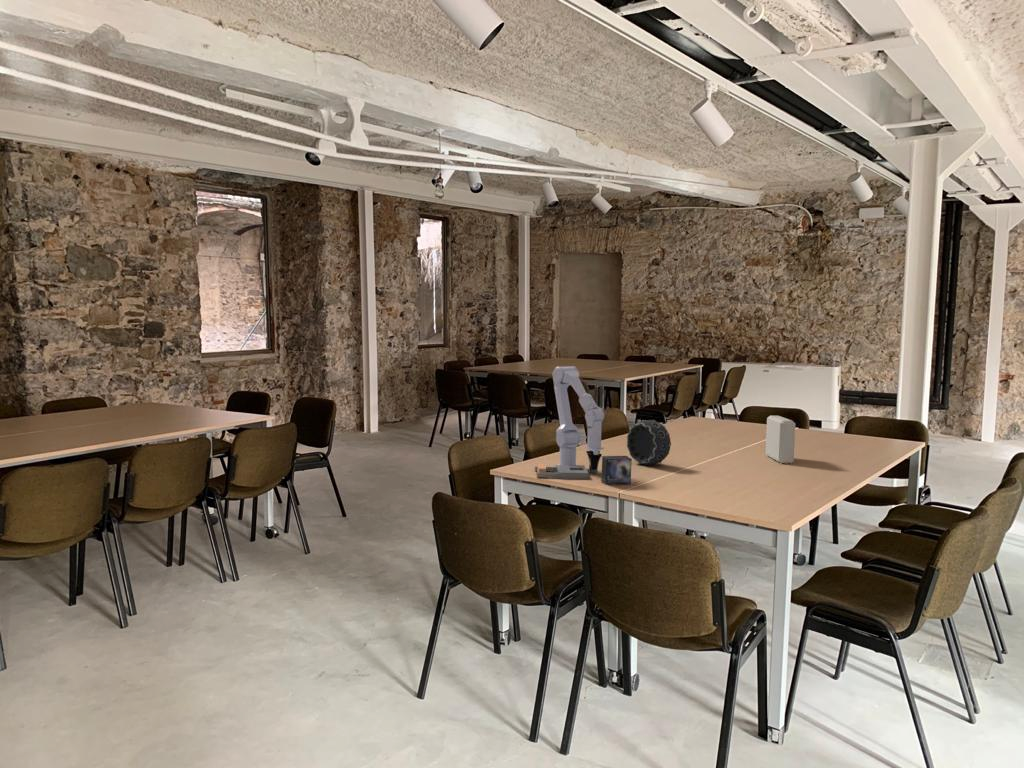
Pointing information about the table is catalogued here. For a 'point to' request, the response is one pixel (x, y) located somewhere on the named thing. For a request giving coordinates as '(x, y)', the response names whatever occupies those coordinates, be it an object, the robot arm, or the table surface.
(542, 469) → the latch bar
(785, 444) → the grey upright block
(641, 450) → the black toy wheel
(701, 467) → the table surface
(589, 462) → the axle peg
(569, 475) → the grey flat plate
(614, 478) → the small box
